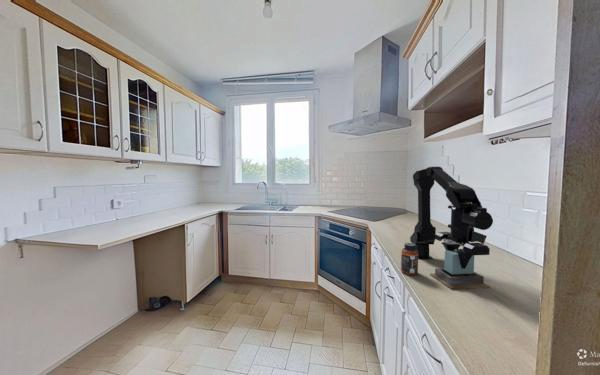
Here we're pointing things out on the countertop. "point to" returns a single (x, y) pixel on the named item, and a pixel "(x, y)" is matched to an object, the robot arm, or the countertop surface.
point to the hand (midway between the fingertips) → (458, 265)
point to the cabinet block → (457, 263)
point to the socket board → (459, 280)
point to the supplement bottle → (409, 259)
